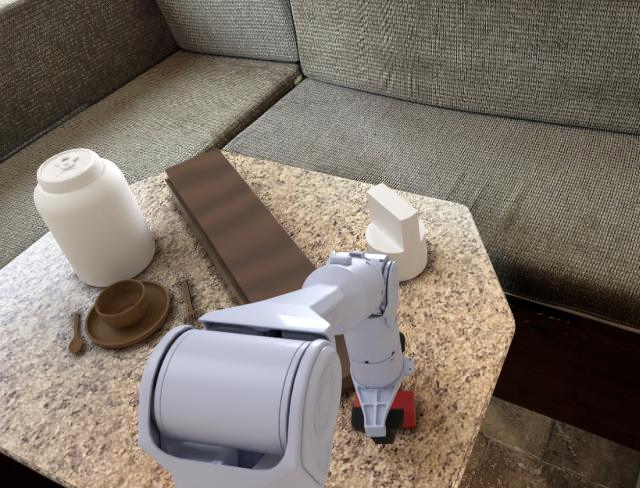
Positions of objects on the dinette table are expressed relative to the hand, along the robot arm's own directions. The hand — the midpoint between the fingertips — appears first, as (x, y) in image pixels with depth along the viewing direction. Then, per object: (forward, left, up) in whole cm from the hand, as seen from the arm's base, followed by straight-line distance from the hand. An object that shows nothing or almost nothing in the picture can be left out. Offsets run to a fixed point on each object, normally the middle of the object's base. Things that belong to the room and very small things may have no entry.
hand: (385, 410), depth 73 cm
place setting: (-22, +32, -2) cm, 39 cm away
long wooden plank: (-2, +33, -2) cm, 33 cm away
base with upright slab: (+16, +21, -2) cm, 26 cm away
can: (-20, +50, -2) cm, 54 cm away
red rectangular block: (0, 0, -2) cm, 2 cm away
